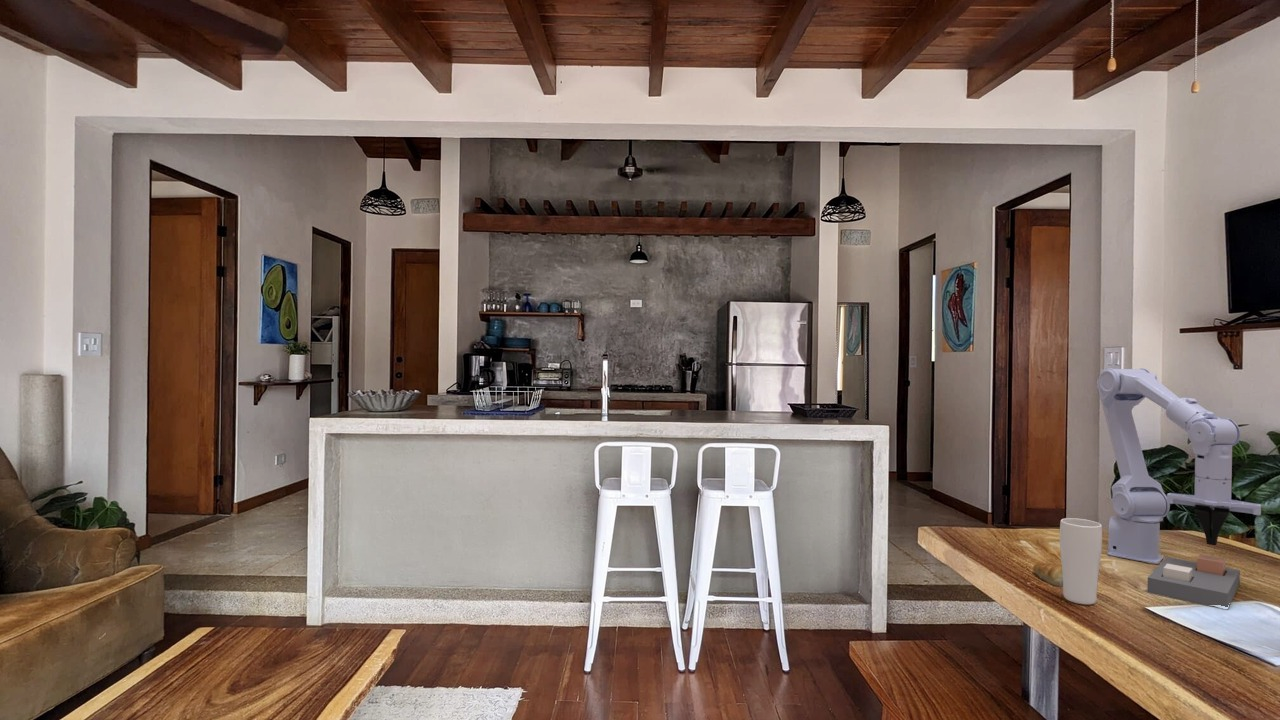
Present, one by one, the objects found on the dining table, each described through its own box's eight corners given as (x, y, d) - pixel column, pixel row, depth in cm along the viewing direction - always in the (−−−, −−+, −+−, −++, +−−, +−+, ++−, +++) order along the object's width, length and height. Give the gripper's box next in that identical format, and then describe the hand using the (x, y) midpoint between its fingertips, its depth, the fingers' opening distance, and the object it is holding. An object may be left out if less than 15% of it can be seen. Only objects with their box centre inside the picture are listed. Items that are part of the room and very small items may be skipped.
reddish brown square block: (1196, 572, 138) (1197, 558, 138) (1199, 568, 141) (1200, 554, 141) (1222, 577, 135) (1222, 562, 135) (1225, 573, 138) (1225, 558, 138)
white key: (1163, 582, 134) (1163, 567, 134) (1166, 578, 137) (1167, 563, 137) (1188, 588, 131) (1189, 572, 131) (1192, 583, 134) (1192, 568, 134)
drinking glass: (1101, 609, 124) (1103, 528, 124) (1058, 602, 128) (1059, 523, 128) (1100, 598, 130) (1101, 521, 130) (1058, 591, 134) (1060, 516, 133)
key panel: (1147, 592, 133) (1147, 577, 133) (1166, 570, 147) (1166, 556, 147) (1227, 609, 125) (1227, 593, 125) (1239, 584, 138) (1239, 569, 138)
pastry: (1023, 573, 145) (1024, 556, 145) (1051, 572, 146) (1051, 554, 146) (1059, 589, 136) (1059, 570, 136) (1087, 587, 137) (1088, 568, 137)
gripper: (1164, 474, 140) (1163, 540, 140) (1259, 485, 130) (1258, 555, 130) (1170, 471, 145) (1169, 534, 145) (1262, 480, 134) (1261, 548, 135)
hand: (1211, 543), depth 138 cm, fingers closed
